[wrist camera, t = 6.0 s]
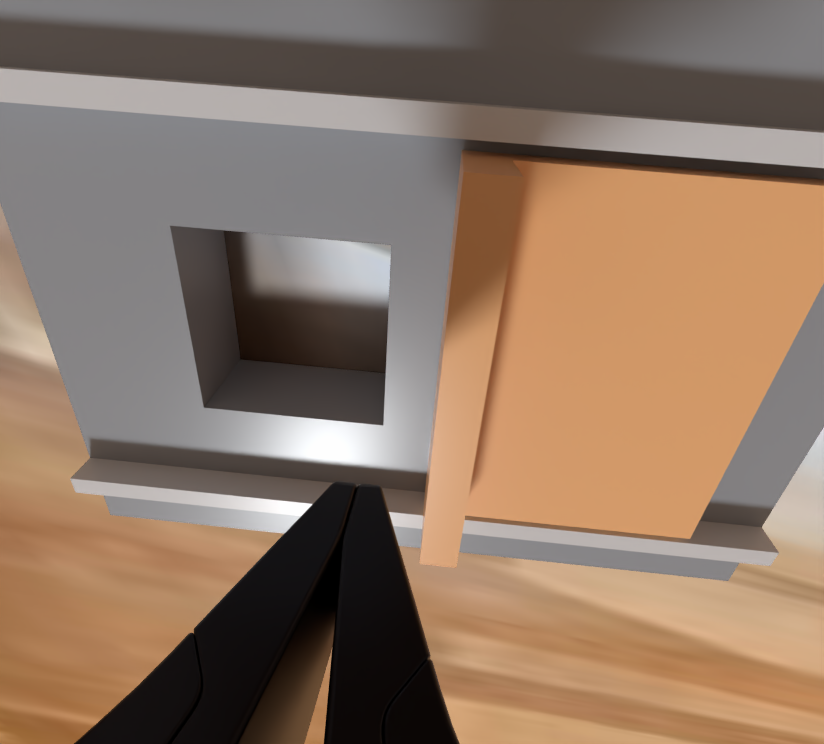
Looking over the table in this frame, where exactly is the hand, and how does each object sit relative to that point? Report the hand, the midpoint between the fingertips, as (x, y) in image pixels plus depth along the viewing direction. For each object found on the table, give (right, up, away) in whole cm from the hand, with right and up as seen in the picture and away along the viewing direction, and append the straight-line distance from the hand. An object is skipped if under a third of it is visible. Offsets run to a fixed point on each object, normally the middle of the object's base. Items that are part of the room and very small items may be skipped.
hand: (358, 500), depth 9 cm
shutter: (+6, +2, +4) cm, 8 cm away
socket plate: (+2, +4, +7) cm, 9 cm away
